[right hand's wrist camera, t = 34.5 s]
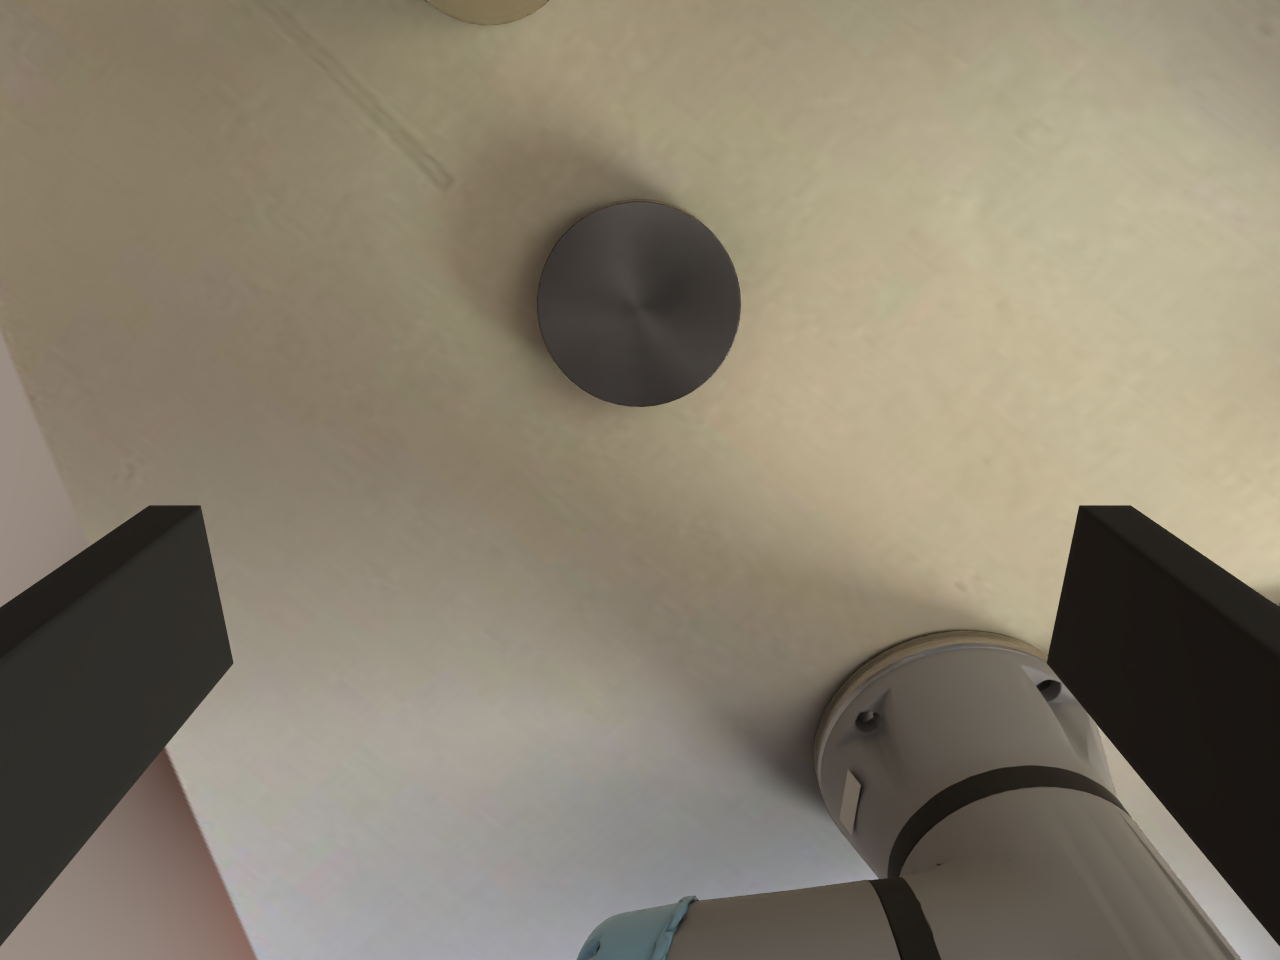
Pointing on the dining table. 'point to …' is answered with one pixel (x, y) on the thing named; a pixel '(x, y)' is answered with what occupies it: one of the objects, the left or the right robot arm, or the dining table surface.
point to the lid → (639, 303)
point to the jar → (487, 10)
